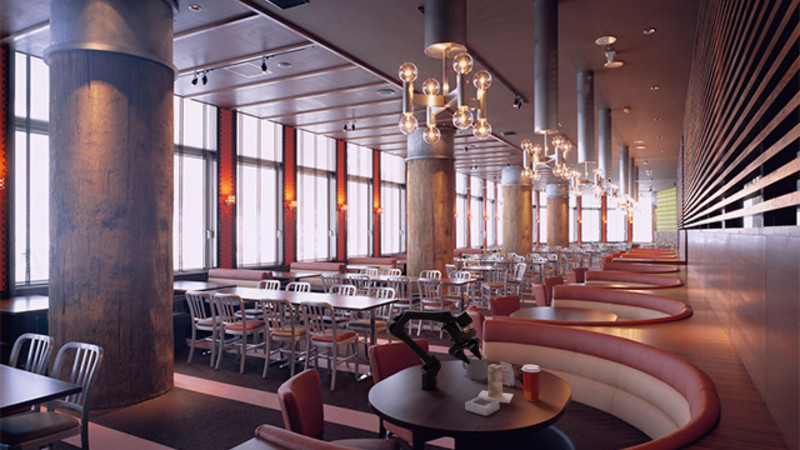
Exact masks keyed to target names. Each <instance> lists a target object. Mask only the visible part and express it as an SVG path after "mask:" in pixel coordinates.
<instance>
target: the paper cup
mask: <svg viewBox="0 0 800 450" xmlns="http://www.w3.org/2000/svg"><path fill="white" fill-rule="evenodd" d="M521 368H522V370H523V380H524V382H523V388H524V389H523V391H524V393H523V394H524V399H525V401H528V402H537V401H539V396H540V375H541V373H540V372H541V369H540V366H539V365H536V364H524V365H523V366H522V367H521Z"/></svg>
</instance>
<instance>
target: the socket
mask: <svg viewBox="0 0 800 450" xmlns="http://www.w3.org/2000/svg"><path fill="white" fill-rule="evenodd" d="M464 410H465V411H467V412H471V413H475V414H478V415H481V416H484V415H485V416H484V417H487V416H489V415H491V414H493V413H494V412H496V411H498V410H500V402H499V401H495V400H492V399H488V398H484V397H480V396H478V395H477V396H476V397H474V398H471V399H469V400H467V401H465V402H464Z"/></svg>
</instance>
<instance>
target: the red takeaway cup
mask: <svg viewBox="0 0 800 450" xmlns="http://www.w3.org/2000/svg"><path fill="white" fill-rule="evenodd" d="M515 370H516V374H514V378H516V379H519V380H520V381H522V382H523V383H524V380H523V370H522V367H521V366H516V367H515Z"/></svg>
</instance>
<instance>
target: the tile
mask: <svg viewBox="0 0 800 450" xmlns="http://www.w3.org/2000/svg"><path fill="white" fill-rule="evenodd" d="M502 393H503V396H501V397H499V398H493V397H490V396H488V390H481V391H480V392H479V394H478V395H477V397H478V396H480V397H484V398H488V399H492V400H495V401H499V403H505V404H506V403H507V404H510V403H511V401H512V399H513V398H514V393H507V392H502Z"/></svg>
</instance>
